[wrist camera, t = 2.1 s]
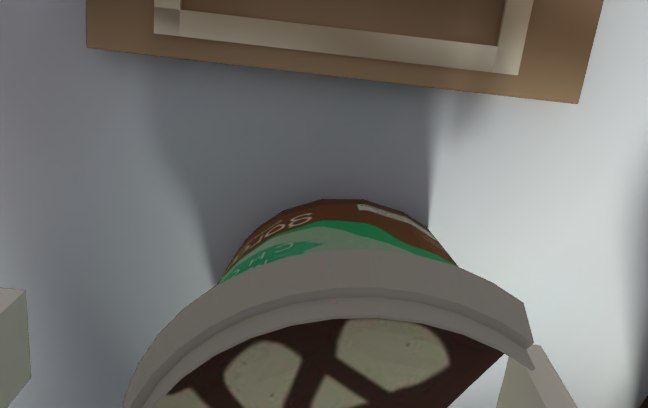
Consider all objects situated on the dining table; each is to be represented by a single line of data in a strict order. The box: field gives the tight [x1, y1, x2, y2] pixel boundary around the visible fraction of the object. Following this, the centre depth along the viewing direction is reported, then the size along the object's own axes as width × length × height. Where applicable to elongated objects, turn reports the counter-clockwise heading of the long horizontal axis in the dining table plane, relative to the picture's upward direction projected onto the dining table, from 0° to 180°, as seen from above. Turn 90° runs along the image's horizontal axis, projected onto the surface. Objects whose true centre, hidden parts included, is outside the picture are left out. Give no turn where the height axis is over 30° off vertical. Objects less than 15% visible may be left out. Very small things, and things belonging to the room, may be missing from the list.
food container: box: [123, 199, 535, 408], centre depth 17 cm, size 12×6×10 cm, turn 141°
